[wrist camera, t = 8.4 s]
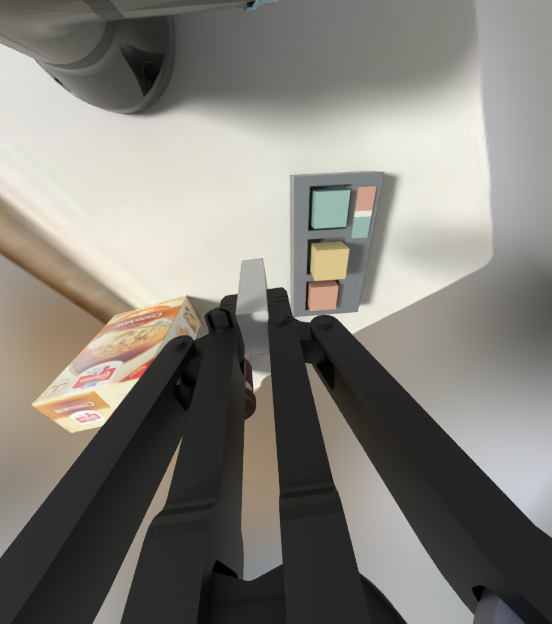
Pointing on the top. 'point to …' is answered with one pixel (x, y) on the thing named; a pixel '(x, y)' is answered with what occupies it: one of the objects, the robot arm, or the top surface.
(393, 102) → the top surface
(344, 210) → the key
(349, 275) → the keypad board
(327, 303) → the key
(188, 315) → the coffeecake box
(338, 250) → the key mid
